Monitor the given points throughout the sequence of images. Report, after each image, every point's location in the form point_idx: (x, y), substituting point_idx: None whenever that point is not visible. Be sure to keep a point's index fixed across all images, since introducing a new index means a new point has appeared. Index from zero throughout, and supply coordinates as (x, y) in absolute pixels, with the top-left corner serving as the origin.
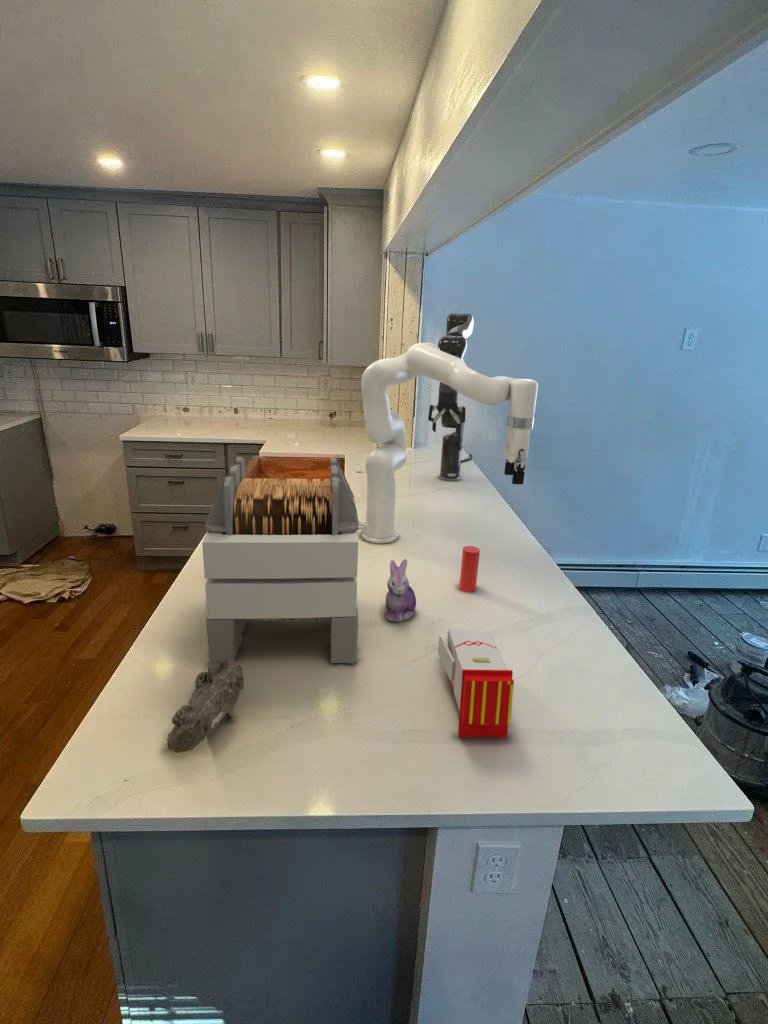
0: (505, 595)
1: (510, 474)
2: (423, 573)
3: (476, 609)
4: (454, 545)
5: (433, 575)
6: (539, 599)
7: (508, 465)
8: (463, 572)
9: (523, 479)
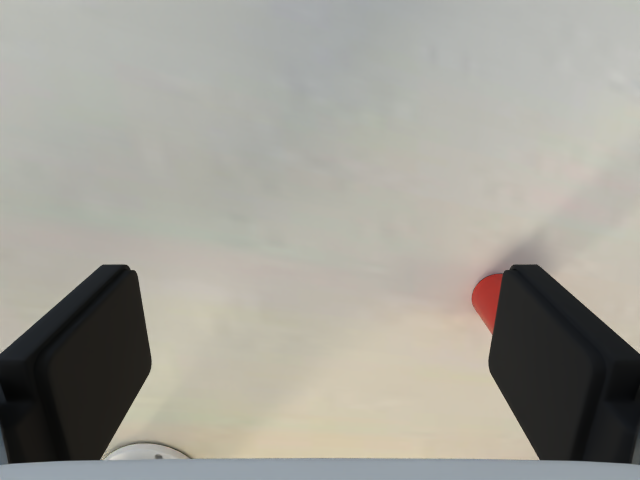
0: (555, 194)
1: (143, 315)
2: (397, 394)
3: (621, 291)
4: (176, 288)
5: (410, 371)
6: (599, 85)
7: (95, 433)
8: None
9: (565, 291)
